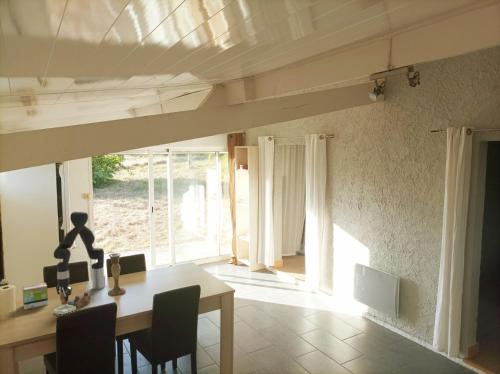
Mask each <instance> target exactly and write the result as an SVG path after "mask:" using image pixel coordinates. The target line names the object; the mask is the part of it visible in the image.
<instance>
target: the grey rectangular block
mask: <svg viewBox="0 0 500 374" xmlns="http://www.w3.org/2000/svg"><path fill="white" fill-rule="evenodd" d="M78 296H79V297H81V296H80V295H78ZM74 300H75V297H74V298H72V299H69V300H68V301H67V305H72V306H74Z"/></svg>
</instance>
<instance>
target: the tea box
mask: <svg viewBox="0 0 500 374" xmlns="http://www.w3.org/2000/svg"><path fill="white" fill-rule="evenodd" d="M48 296H49V295H48V285H47V283H46V282H40V283H35V284H30V285H29V284H28V285H23V286H22V304H23V309H24V310H28V309H33V308H38V307H39V308H40V307H43V306H44V305H45V306H48V305H49V302H48V301H49V300H48V299H49V298H48Z"/></svg>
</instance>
